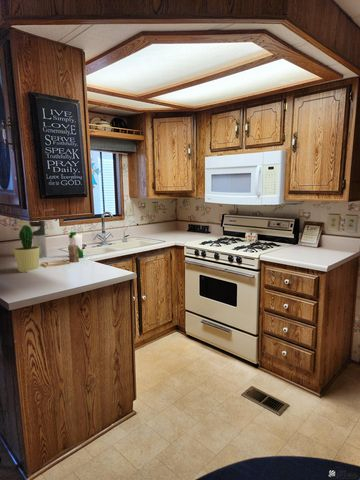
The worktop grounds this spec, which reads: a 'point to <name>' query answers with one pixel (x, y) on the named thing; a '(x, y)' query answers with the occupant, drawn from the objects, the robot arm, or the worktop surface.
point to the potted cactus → (26, 251)
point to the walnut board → (73, 253)
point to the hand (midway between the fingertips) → (62, 220)
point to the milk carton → (76, 242)
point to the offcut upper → (55, 262)
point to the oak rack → (55, 264)
